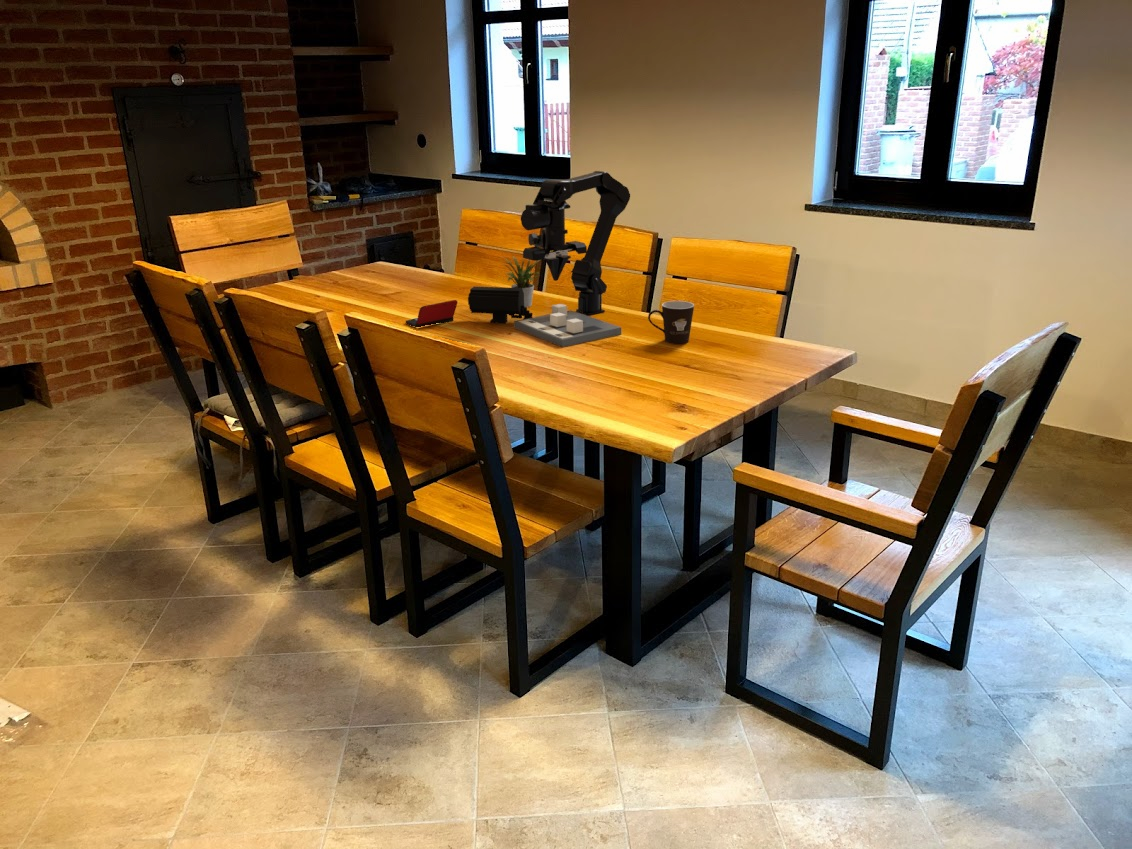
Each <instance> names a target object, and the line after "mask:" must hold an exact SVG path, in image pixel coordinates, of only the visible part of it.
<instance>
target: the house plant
mask: <svg viewBox="0 0 1132 849" xmlns="http://www.w3.org/2000/svg"><path fill="white" fill-rule="evenodd" d="M501 258H502V259H505V260H506V261H505V263H506V264H507V265H505V264H504V266H506V267H507V268H508V269H509V271H510V272H508V273H506V275H507V276H508V279H507V282H509V281H512V282H513V283H514V284H512V285H511V286H510V288H522V290H523V292H524V307H525V308H530V307H531V306H532V303H533V295H534V289H535V285H534V284H532V282H533V280H534V278H536V277H538V276H539V277H540V275H537V274H538V272H533V273H532V272H531V271H532V270H533V269H534V267H535V266H536V265H537V264H539V262H540V261H541V260H537V261H535V262H534V263H531V264H530V262H531V260H529V259H528V262H527V264H526V268H525V269H524V263H525V261H526V260H527V259H525V258H524V259H522V260H521V265H520V264H519V262H518V260H517V258H516V257H515V256H514V255H512V256H511V259H513V261H514V264H515V266H516V268H515V267H514V265H513V264H512V263H511V261H510V260H509V259H507V258H505V257H502V256H501ZM508 265H509V266H510V267H511V268H512V269H511V268H510V267H509V266H508ZM515 274H516V275H515ZM532 276H533V277H532Z"/></svg>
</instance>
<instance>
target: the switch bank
mask: <svg viewBox="0 0 1132 849" xmlns="http://www.w3.org/2000/svg"><path fill="white" fill-rule="evenodd" d="M550 314H551V313H549V314H545V315H538V316H534V317H533V316H532V317H533V318H528V319H524V318H523V319H519V320H514V321H513V325H514V326H513V328H514V329H515V330H519V331H521V332H523V333H527V334H529V335H531V336H533V337H536V338H538V339H541V340H544V341H546V342H549V343H551V344H554V345H556V346H559V347H562V348H565V347H569V346H574V345H579V344H585V343H588V342H592V341H597V340H602V339H605V338H610V337H616V336H620V334H621V335H622V326H620V325H619V326H618V325H616V324H613V323H610V322H607V321H604V320H601V319H599V318H598V319H597V318H596V317H592V316H590V315H587V314H584V313H581V312H578V311H576V310H572V309H569V310H567V316H566V325H565V326H560V327H555V326H552V325H550ZM575 318H576V319H579V320H582V321H583V332H578V333H571V332H568V331H567V320H570V319H575Z"/></svg>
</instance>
